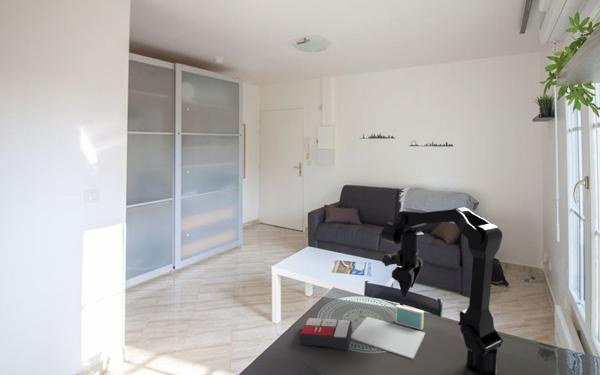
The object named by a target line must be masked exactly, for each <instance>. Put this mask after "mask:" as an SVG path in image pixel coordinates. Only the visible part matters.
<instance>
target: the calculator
mask: <svg viewBox="0 0 600 375" xmlns="http://www.w3.org/2000/svg"><path fill="white" fill-rule="evenodd" d="M302 327H303V328H302V329H301V332H300V334H299V344H300V345H303V346H316V347H330V348H331V347H332V348H334V349H335V350H344V351H347V350H349V347H350V344H351V343H350V342H351V340H352V339H351V334H352V333H353V328H352V321H351V320H344V319H343V320H341V319H339V320H338V319H335V318H334V319H333V318H317V317H315V318H313V317H308V319H307V320H306V321H305V324H304V326H302Z"/></svg>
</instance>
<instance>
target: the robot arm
mask: <svg viewBox="0 0 600 375" xmlns="http://www.w3.org/2000/svg"><path fill="white" fill-rule="evenodd" d="M437 223H438V224H439V223H440V224H441V223H454V224H455V225H456V227H457V228H458V230H459V232H460V233H461V234H462V235H463V236H464V237H465V238H466V239H467V247H468V249H469V252H470V254H471V256H472V261H471V262H472V263H471V273H470V274H471V275H470V288H469V300H468V301H469V302H468V307H467V308H465V309H462V310H460V311H459V322H458V326H459V327H460V333H461V334H462V336H463V339H464V343H465V347H466V349H467V353H466V354H467V355H466V357H467V358H466V365H468V368H467V370H468V371H469V372H471V373H475V374H477V375H497V369H498V365H497V362H498V361H497V358H498V348H500V347H502V345H503V344H504V340H503V338H502V337H501V336H500V334H499V332H497V330H496V328H495V324H494V323H495V322H494V317H493V316H492V312H491V311H490V299H491V298H490V297H491V289H492V288H491V287H492V277H493V276H492V275H493V265H494V264H493V263H494V258H495V256H496V255H497V253H498V252H499V249H500V247H501V243H502V239H503V232H502V230H501V229H500V228H499V227H498V226H497V225H495V224H493V223H490V222H489V221H488V220H486V219H485V218H483V217H482V216H479V215H477V213H476V214H475V213H474V212H472V211H471V209H469V208H466V207H464V206H463V207H457V208H456V207H455V208H453V209H442V210H431V211H430V210H429V211H426V210H422V209H420V210H419V209H408V210H401V211H399V212H398V215H397V218H396V219H395V220H394V222H393V223H392V222H390V221H389V222H385V226H383V228H382V230H381V232H380V236H381V239H382V240H383V241H385V242H388V243H392V244H396V245H399V249H398V250H397V251H396V252H392V253H387V254H386V253H385V254H384V255H383V256H382V257H381V263H382V264H384V267H389V266H391V265H396V267H395V268H394V269H393V270H392V271H391V278H392V279H393V280H395V281H396V282H397V283H398V284H399V288H400V293H401V296H402V297H403V298H406V297H407V296H408V293H409V291H410V289H411V288H413V287H414V285H415V284H416V281H417V279H418V276H419V274H420V273H421V271H422V267H423V266H424V260H423V258H422V257H419V256H418V254H419V253H420V249H419V248H418V246H419V245H418V244H419V238H420V237H423V236H424V235H425V234H424V233H423V232H422V230H420V228H418V227H420V226H421V227H422V226H425V225H427V224H437ZM412 228H414V229H412Z"/></svg>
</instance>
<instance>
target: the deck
mask: <svg viewBox="0 0 600 375" xmlns="http://www.w3.org/2000/svg"><path fill="white" fill-rule="evenodd" d="M424 312H425V311H424V310H422V309H417V308H413V307H410V306H406V305H402V304H401V305H400V304H396V305H395V323H394V324H398V325H401V326H405V327H409V328H412V329H413V328H414V329H417V330H419V331H421V330H423V329H424V321H425V320H424V314H425V313H424Z"/></svg>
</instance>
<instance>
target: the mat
mask: <svg viewBox="0 0 600 375" xmlns="http://www.w3.org/2000/svg"><path fill="white" fill-rule="evenodd" d="M425 335H426V332H424V331H421V330H418V329H417V330H416V329H415V328H414V329H413V328H411V327H407V326H404V325H400V324H397V323H391V322H388V321H384V320H382V319H381V320H380V319H377V318H374V317H370V316H367V317H366V318H364V320H363V321H362V322H361V323H360V324H359V325H358V327H357V328H356V329H355V330H354V331H352V334H351V339H350V340H353V341H356V342H358V343H362V344H365V345H369V346H371V347H373V348H377V349H380V350H384V351H386V352H390V353H392V354H396V355H399V356H402V357H405V358H407V359H411V360H414V359H415V356H416V354H417V352H418V350H419V348H420V346H421V344H422V343H423V340H424V337H425Z"/></svg>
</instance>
